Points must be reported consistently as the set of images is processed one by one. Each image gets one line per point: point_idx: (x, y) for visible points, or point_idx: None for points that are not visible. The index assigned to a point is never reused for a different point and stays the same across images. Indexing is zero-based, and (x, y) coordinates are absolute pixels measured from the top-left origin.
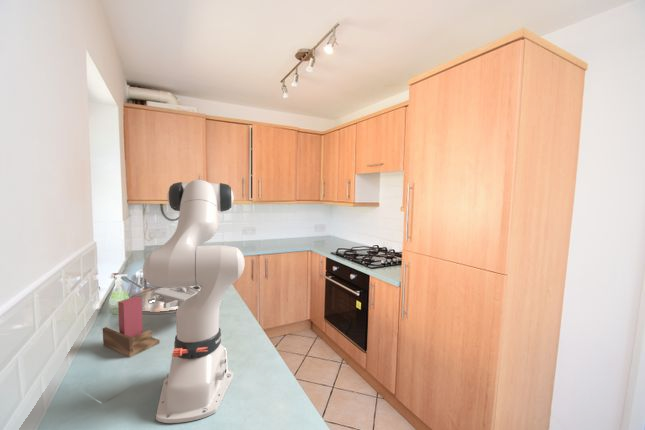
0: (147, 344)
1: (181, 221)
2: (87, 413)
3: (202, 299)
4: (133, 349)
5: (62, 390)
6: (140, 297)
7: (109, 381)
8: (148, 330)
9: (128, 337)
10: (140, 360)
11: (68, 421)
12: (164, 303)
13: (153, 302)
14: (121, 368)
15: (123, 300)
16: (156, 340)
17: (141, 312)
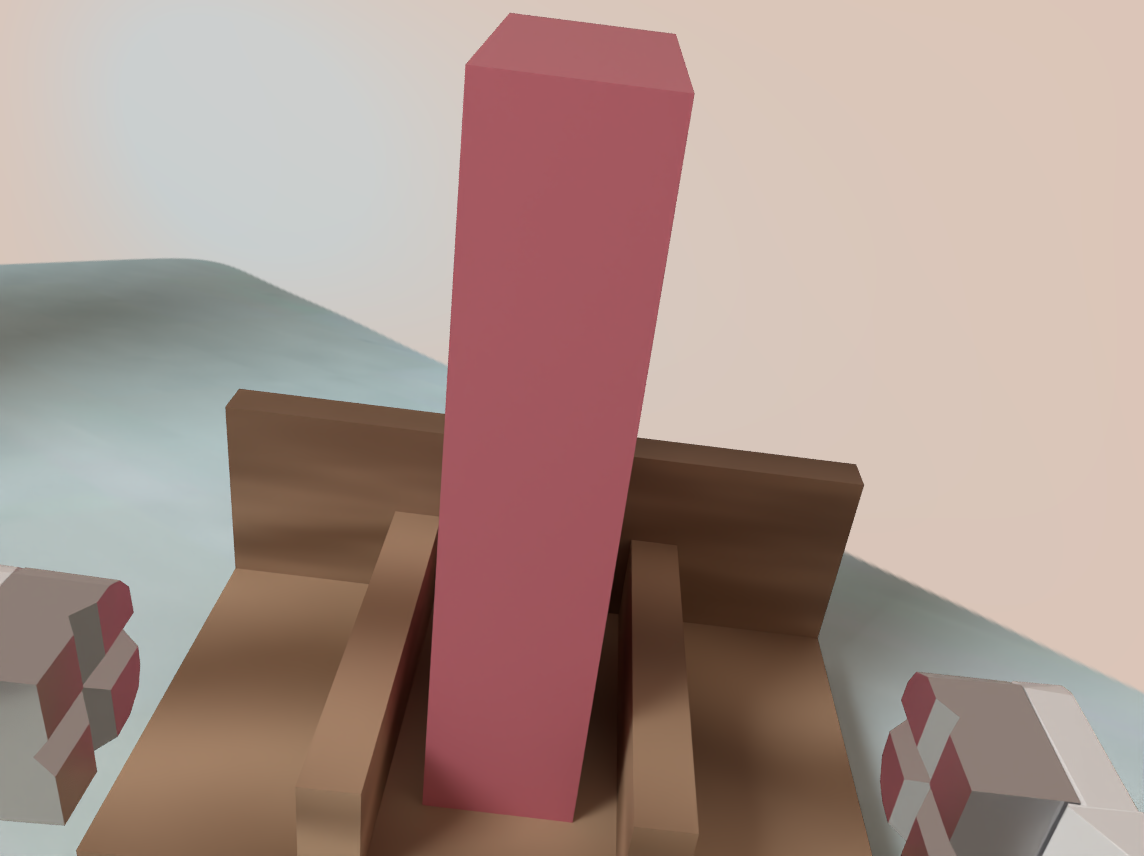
0: (187, 708)
1: None
2: (39, 289)
3: None
4: (284, 600)
5: (381, 342)
6: (511, 71)
7: (144, 405)
8: (360, 770)
9: (281, 401)
10: None
11: (97, 267)
12: (91, 577)
13: (904, 853)
14: (187, 490)
15: (660, 44)
16: (123, 824)
17: (448, 398)
